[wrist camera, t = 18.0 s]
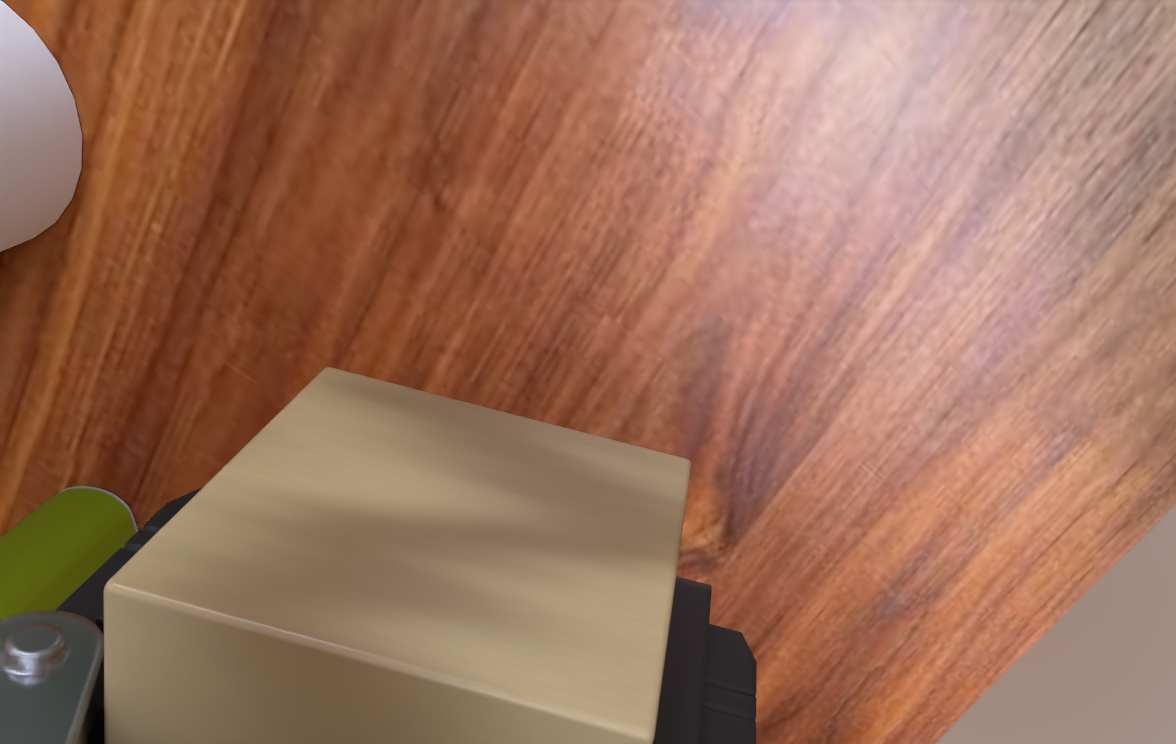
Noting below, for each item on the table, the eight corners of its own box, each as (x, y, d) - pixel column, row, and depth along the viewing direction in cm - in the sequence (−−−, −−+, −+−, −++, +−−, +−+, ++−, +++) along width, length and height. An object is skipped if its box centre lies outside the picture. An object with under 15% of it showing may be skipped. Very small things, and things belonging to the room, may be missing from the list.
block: (692, 457, 13) (654, 737, 8) (612, 741, 15) (548, 1086, 11) (325, 363, 13) (99, 583, 9) (297, 653, 15) (103, 951, 11)
